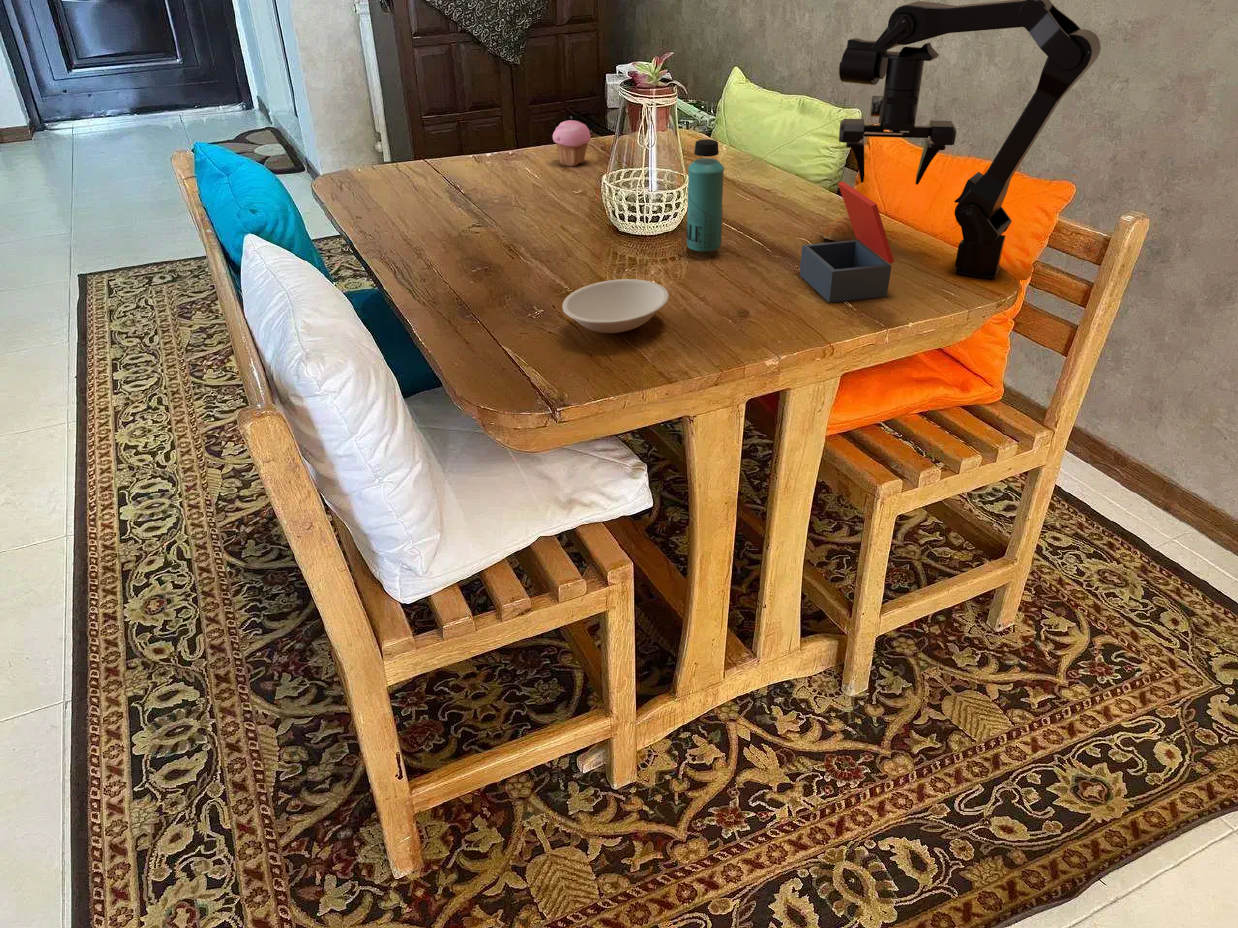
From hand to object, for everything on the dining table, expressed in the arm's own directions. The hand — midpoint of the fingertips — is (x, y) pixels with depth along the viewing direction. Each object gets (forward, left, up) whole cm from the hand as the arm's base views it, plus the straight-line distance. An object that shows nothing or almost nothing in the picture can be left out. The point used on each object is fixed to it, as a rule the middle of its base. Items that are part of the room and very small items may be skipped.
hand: (889, 183), depth 159 cm
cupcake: (+81, -29, -13) cm, 86 cm away
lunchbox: (+2, +18, -13) cm, 22 cm away
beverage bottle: (+29, +14, -13) cm, 34 cm away
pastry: (+8, -6, -13) cm, 16 cm away
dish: (+28, +50, -13) cm, 59 cm away
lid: (0, +17, -2) cm, 17 cm away
